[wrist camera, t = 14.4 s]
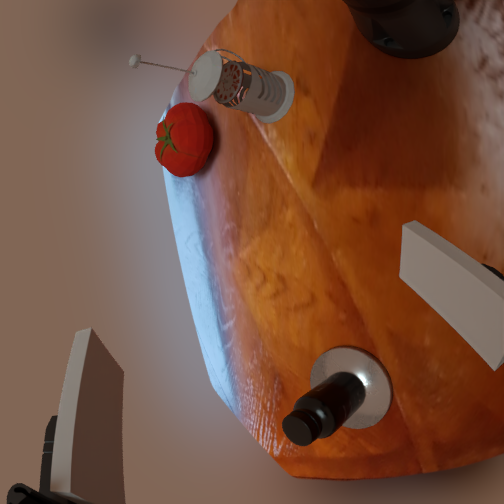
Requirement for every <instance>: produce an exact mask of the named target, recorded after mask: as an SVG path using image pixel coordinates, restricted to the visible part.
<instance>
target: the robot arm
mask: <svg viewBox="0 0 504 504" xmlns="http://www.w3.org/2000/svg"><path fill="white" fill-rule="evenodd" d="M342 1H344V2H345V3H346V4H347V5H348V7H349V10H350V12H351V14H352V16H353V19H354V21H355V23H356V25H357V27H358V29H359V31H360V32H361V33H362V35H363V36H364V37H365V38H366V39H367V40H368V41H369V42H370V43H371V44H373V45H374V46H375V47H376V48H378V49H379V50H381V51H382V52H384V53H387V54H389V55H392V56H396V57H400V58H421V57H426V56H429V55H432V54H435V53H437V52H439V51H440V50H442V49H444V48H445V47H446V46H447V45H448V44H449V43H450V42H451V41H452V40H453V39H454V37H455V35H456V33H457V31H458V27H459V12H458V9H457V6H456V4H455V2H454V0H342ZM399 277H400V278H401V279H402V280H403V281H404V282H405V283H407V284H408V285H409V286H410V287H411V288H412V289H413V290H414V291H415V292H416V293H417V294H419V295H420V296H421V297H422V298H423V299H424V300H425V301H426V302H427V303H428V304H429V305H430V306H431V307H432V308H433V309H434V310H435V311H436V312H438V313H439V314H440V315H441V316H442V317H443V318H444V319H445V320H446V321H447V322H448V323H449V324H450V325H451V326H452V327H453V328H454V329H455V330H456V331H457V332H458V333H459V334H460V335H461V336H462V337H463V338H464V339H465V340H466V341H467V342H468V343H469V344H470V345H471V347H472V348H473V349H474V350H475V351H476V352H477V353H478V354H479V355H480V356H481V357H482V358H483V359H484V360H485V361H486V362H487V364H488V365H489V366H490V367H491V368H492V369H493V370H494V371H495V370H496V369H497V368H499V367H500V366H501V365H502V364H503V363H504V276H503V274H501V273H500V272H499V271H497V270H496V269H495V268H493V267H490V266H488V265H485V264H483V263H482V264H480V263H479V262H477V261H476V260H474V259H473V258H472V257H470V256H469V255H467V254H466V253H465V252H463V251H462V250H460V249H459V248H457V247H456V246H454V245H453V244H451V243H450V242H448V241H447V240H445V239H444V238H442V237H441V236H439V235H438V234H436V233H435V232H433V231H432V230H430V229H428V228H427V227H425V226H424V225H422V224H421V223H419V222H417V221H416V220H414V221H412V222H409V223H406V224H404V225H403V226H402V247H401V262H400V274H399ZM123 381H124V371H123V370H122V369H121V367H120V366H119V365H118V363H117V362H116V361H115V359H114V358H113V357H112V355H111V354H110V353H109V351H108V350H107V349H106V347H105V346H104V344H103V343H102V342H101V340H100V339H99V337H98V336H97V335H96V333H95V332H94V330H93V329H92V327H91V328H88V329H84V330H81V331H78V332H76V335H75V339H74V342H73V346H72V350H71V354H70V358H69V362H68V367H67V371H66V375H65V380H64V385H63V390H62V395H61V401H60V406H59V412H58V415H57V416H52V418H51V419H50V422H49V423H48V426H47V428H46V433H45V440H44V441H45V444H44V448H43V452H44V454H43V455H42V464H41V476H40V489H39V492H37V491H35V490H33V489H32V488H30V487H28V486H26V485H24V484H22V483H17V484H15V485H13V486H12V487H11V489H10V490H9V492H8V495H7V504H126V503H125V491H124V476H123V453H122V452H123V450H122V409H123Z"/></svg>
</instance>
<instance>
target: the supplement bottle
mask: <svg viewBox="0 0 504 504" xmlns="http://www.w3.org/2000/svg"><path fill="white" fill-rule="evenodd" d="M365 396H366V393H365V388H364V385H363V384H362V382H361V381H360V379H359V378H358V377H356V376H355V375H353V374H351V373H349V372H343V371H341V372H336V373H334V374H332V375H331V376H329V377H328V378H327V379H325V380H324V381H323V382H321V383H320V384H319V385H317V386H316V387H314V388H313V389H312V390H310V391H309V392H307V393H306V394H305V395H303V396H302V397H300V398H299V399H298V400H297V401H296V403H295V405H294V409H293V411H292V412H291V413H290V414H289V415H287V416H286V417H285V418H284V419H283V422H282V428H283V431H284V433H285V434H286V436H287V437H288V439H289V440H290V441H292V442H293V443H295V444H296V445H299V446H307V445H309V444H311V443H312V442H313V441H315V440H316V439H317V438H326V437H329V436H331V435H332V434H333V433H334V432H335V431H337V430H338V429H339V428H340V427H341V426H342V425H343V424H344V423H345V422H346V421H347V420H348V419H349V418H350V417H351V416H352V415H353V414H354V413H355V412H356V411H357V410H358V409H359V408H360V407H361V406H362V404H363V403H364V400H365Z"/></svg>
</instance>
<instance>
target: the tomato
mask: <svg viewBox="0 0 504 504" xmlns="http://www.w3.org/2000/svg"><path fill="white" fill-rule="evenodd" d="M156 134H157V140H158V141H159V142H158V143H157V144H156V147H155V154H156V158H157V160H158V161H159V163H160V164H161V165H163V166H164V167H166V169H167V170H168V171H169V172H170V173H172V174H173V175H175V176H178V177H187V176H192V175H194V174H195V173H197V172H198V171H199V170H200V169H201V168H203V166H204V165H205V162H206V160H207V157H208V155H209V153H210V151H211V150H212V146H213V140H214V139H213V130H212V128H211V126H210V124H209V123H208V118H207V115H206V113H205V112H204V111H203V110H202V109H201V108H200V107H199V106H198V105H196V104H193V103H187V102H186V103H179V104H177V105H175V106H174V107H172V108H171V109H170V110H169V111H168V113H167V115H166V117H165V119H164V118H163V121H162V122H160V123H159V124H158V126H157V131H156Z"/></svg>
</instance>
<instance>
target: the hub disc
mask: <svg viewBox="0 0 504 504" xmlns="http://www.w3.org/2000/svg"><path fill="white" fill-rule="evenodd" d="M341 371H343V372H349V373H351V374H353V375H355V376H356V377H358V378H359V379H360V381H361V382H362V384H363V385H364V388H365V393H366V396H365V400H364V403H363V404H362V406H361V407H360V408H359V409H358V410H357V411H356V412H355V413H354V414H353V415H352V416H351V417H350V418H349V419H348V420H347V421H346V422H345V423H344V424H343V425H342V426H345V427H348V428H355V429H361V428H367V427H370V426H372V425H374V424H376V423H377V422H378V421H380V420H381V419H382V418H383V416H384V415H385V414H386V413H387V411H388V410H389V408H390V406H391V403H392V399H393V386H392V382H391V378H390V376H389V374H388V372H387V370H386V368H385V367H384V366H383V364H382V363H381V362H380V361H379V360H378V359H377V358H376V357H375V356H373V355H372V354H371V353H369V352H367V351H366V350H363V349H361V348H358V347H354V346H338V347H334V348H332V349H330V350H328V351H327V352H325V353H324V354H322V355H321V356H320V357H319V358H318V359H317V360H316V362H315V363H314V365H313V368H312V371H311V377H310V383H311V389H313V388H314V387H316V386H317V385H319V384H320V383H321V382H323V381H324V380H325V379H327V378H328V377H329V376H331V375H332V374H334V373H336V372H341Z"/></svg>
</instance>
